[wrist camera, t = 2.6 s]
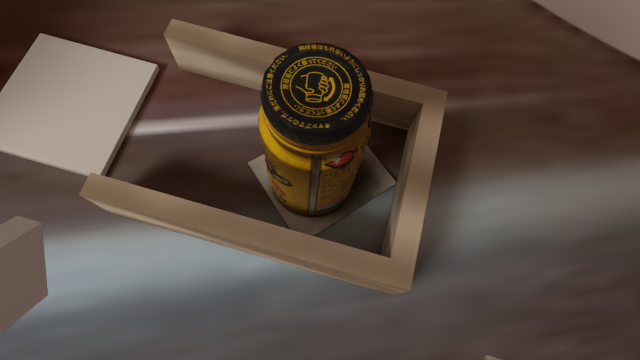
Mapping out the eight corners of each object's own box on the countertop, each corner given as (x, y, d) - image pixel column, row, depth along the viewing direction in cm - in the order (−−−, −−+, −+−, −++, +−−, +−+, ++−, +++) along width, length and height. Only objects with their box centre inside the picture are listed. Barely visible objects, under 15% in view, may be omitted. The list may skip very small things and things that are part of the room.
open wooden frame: (186, 54, 32) (172, 18, 28) (429, 119, 31) (447, 91, 27) (109, 212, 27) (78, 194, 23) (394, 295, 26) (410, 290, 22)
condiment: (247, 163, 29) (215, 62, 18) (341, 111, 31) (365, -10, 20) (299, 245, 27) (300, 190, 16) (396, 184, 29) (457, 96, 18)
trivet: (44, 38, 32) (40, 33, 31) (159, 69, 31) (157, 64, 31) (-26, 143, 28) (-33, 140, 28) (102, 180, 28) (98, 177, 27)
